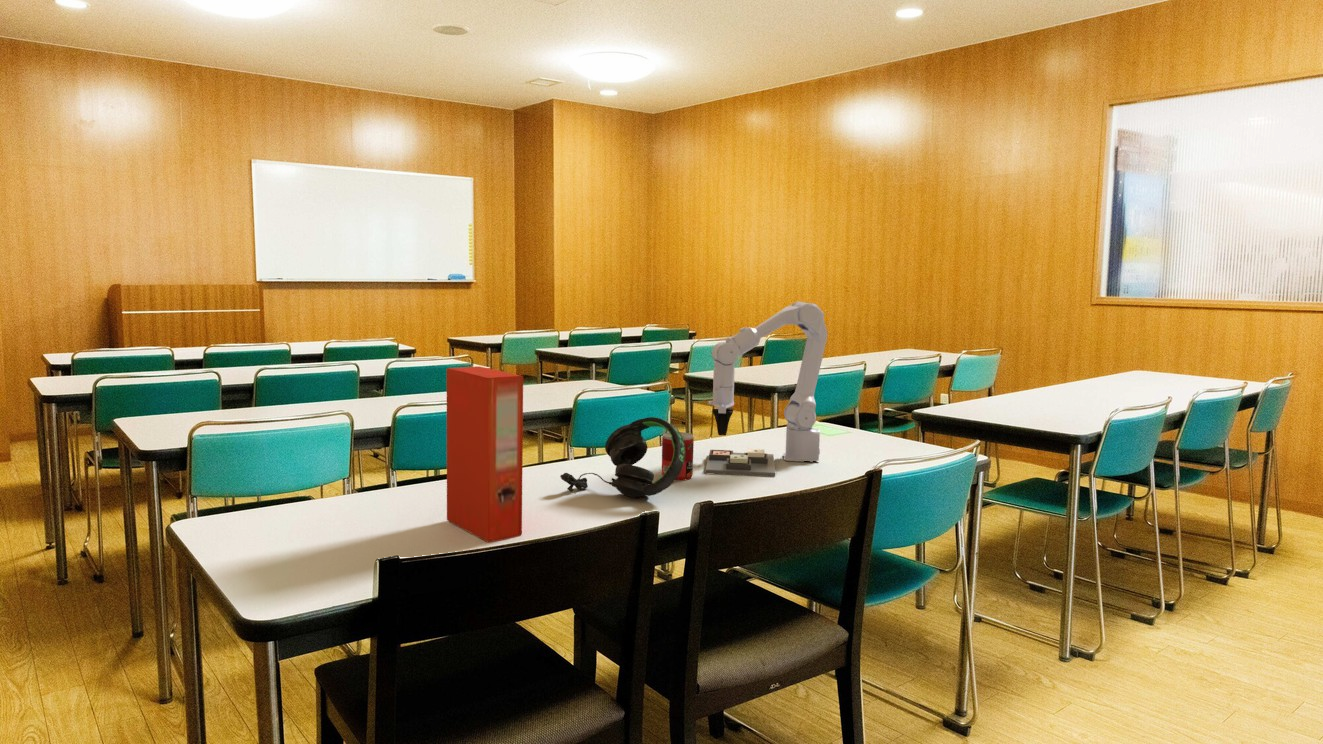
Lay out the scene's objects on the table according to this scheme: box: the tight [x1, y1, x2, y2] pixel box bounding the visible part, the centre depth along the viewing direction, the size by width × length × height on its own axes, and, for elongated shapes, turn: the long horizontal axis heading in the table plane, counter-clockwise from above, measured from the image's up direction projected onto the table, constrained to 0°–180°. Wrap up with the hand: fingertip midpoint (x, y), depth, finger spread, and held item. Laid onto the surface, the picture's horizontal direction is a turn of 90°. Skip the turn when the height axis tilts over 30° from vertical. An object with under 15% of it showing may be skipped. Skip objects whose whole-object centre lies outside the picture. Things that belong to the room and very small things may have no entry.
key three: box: [713, 451, 730, 455], centre depth 237 cm, size 5×5×1 cm
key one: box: [746, 448, 766, 457], centre depth 233 cm, size 5×5×1 cm
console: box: [705, 449, 776, 478], centre depth 232 cm, size 18×22×2 cm
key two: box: [730, 455, 748, 464], centre depth 226 cm, size 5×5×1 cm
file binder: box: [446, 365, 524, 543], centre depth 171 cm, size 8×17×32 cm, turn 39°
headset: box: [559, 416, 685, 499], centre depth 199 cm, size 18×14×29 cm
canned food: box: [661, 431, 695, 481], centre depth 217 cm, size 8×8×11 cm
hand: (722, 434), depth 236 cm, fingers closed
